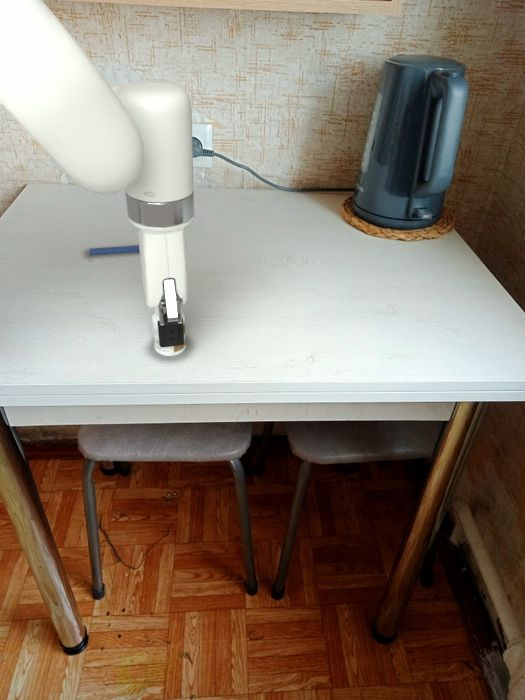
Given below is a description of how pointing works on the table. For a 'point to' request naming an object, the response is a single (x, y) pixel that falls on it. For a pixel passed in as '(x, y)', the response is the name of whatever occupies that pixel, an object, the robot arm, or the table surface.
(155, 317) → the pill bottle
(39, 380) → the table surface
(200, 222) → the table surface
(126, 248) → the spoon
